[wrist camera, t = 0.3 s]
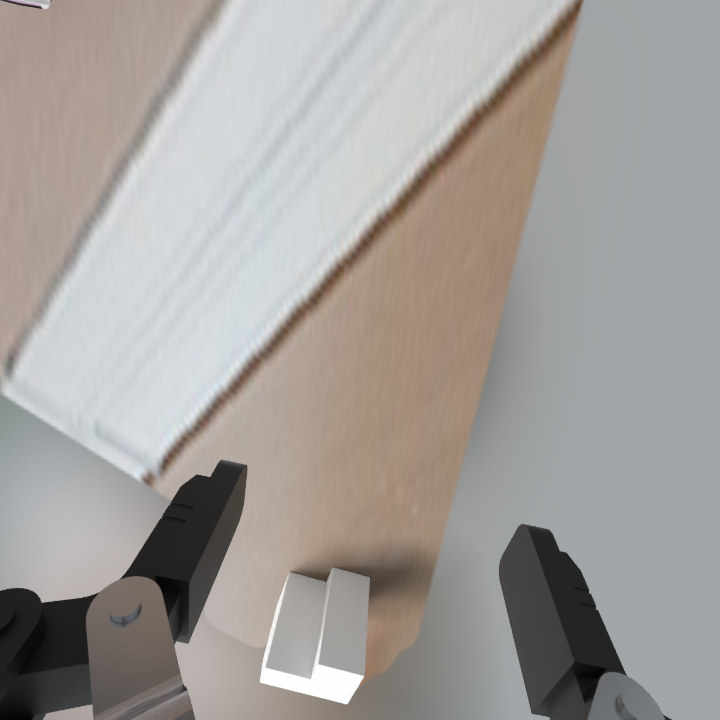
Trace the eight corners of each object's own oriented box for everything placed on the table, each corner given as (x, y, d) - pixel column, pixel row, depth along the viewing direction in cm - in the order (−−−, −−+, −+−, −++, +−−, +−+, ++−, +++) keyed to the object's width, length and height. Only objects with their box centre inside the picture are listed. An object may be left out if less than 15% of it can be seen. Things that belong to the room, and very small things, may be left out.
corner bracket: (370, 577, 57) (364, 676, 46) (346, 623, 62) (336, 722, 51) (294, 556, 56) (271, 652, 45) (277, 605, 61) (252, 701, 50)
